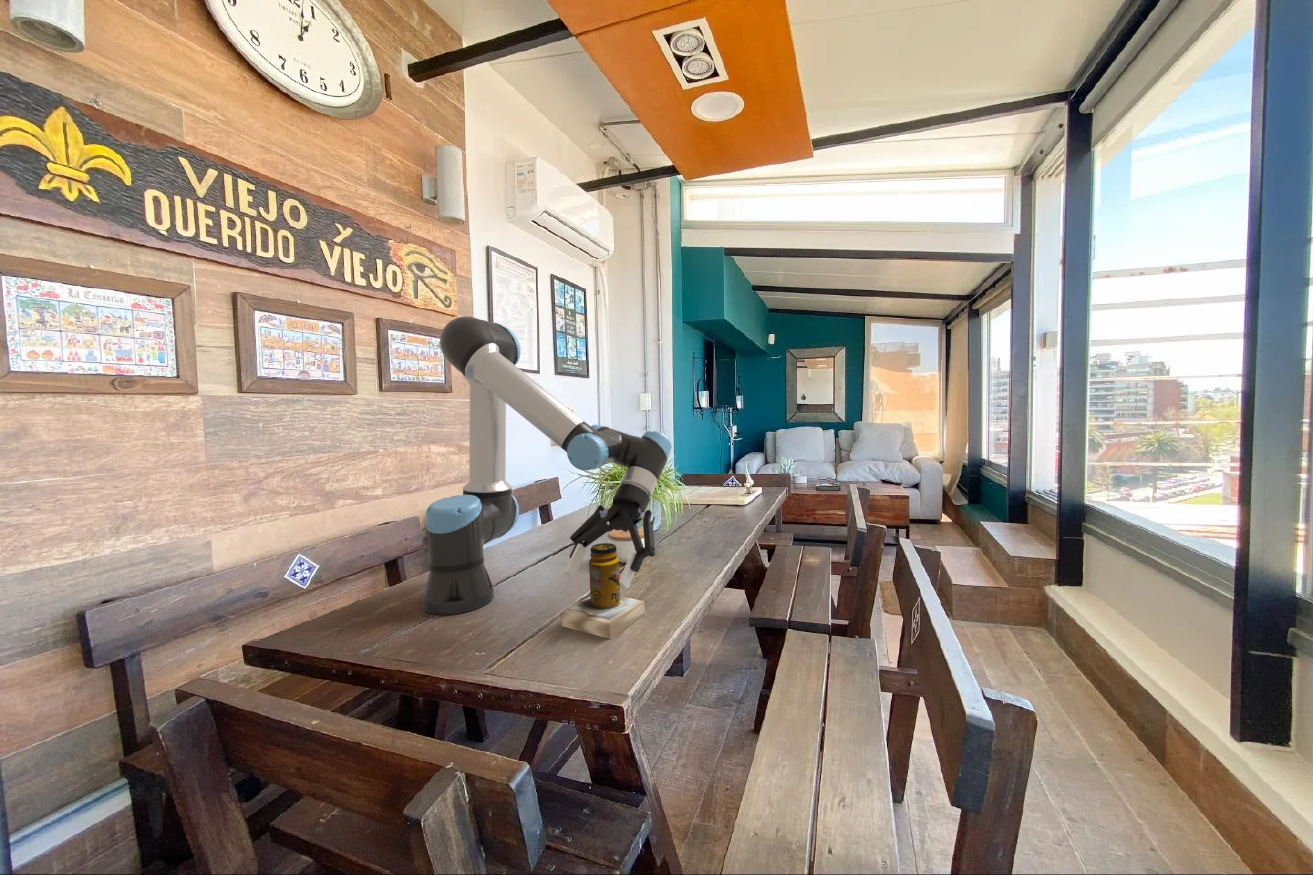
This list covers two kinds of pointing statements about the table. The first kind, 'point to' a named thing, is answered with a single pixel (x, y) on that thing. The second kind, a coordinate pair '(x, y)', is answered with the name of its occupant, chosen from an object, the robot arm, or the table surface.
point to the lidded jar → (624, 543)
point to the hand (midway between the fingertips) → (595, 580)
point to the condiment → (603, 580)
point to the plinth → (604, 618)
